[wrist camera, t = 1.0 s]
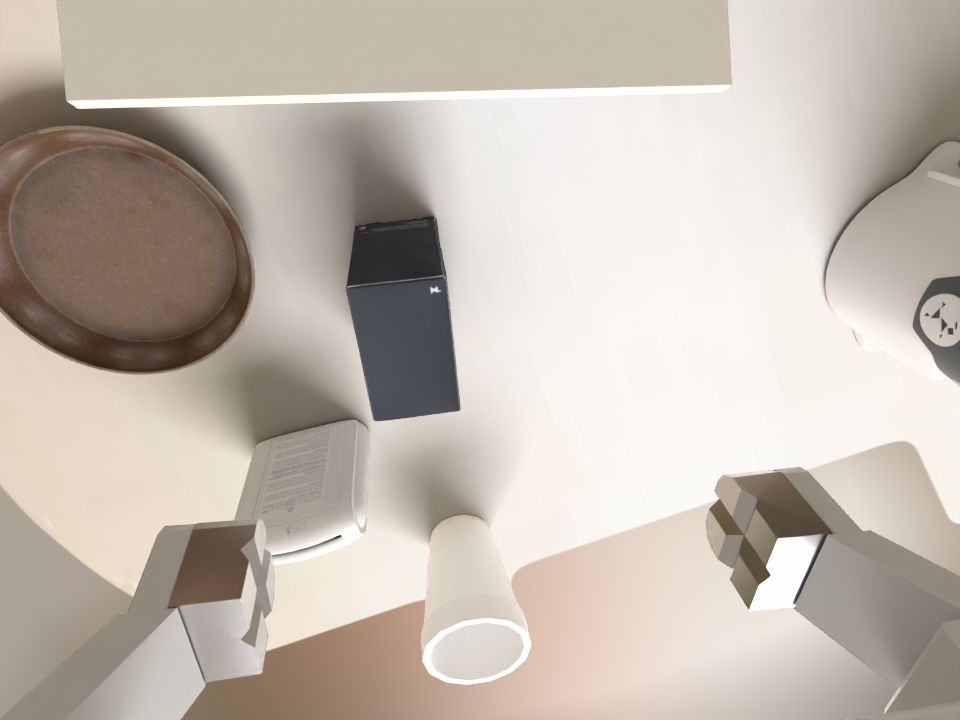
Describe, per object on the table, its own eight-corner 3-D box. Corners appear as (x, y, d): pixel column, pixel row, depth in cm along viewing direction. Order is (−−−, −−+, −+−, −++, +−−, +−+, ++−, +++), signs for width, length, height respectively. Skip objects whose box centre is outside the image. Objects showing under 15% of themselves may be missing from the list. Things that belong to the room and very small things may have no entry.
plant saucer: (90, 53, 37) (68, 58, 34) (311, 255, 45) (307, 272, 43) (-69, 239, 41) (-99, 257, 39) (161, 392, 50) (149, 414, 47)
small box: (348, 224, 44) (339, 284, 35) (436, 214, 45) (450, 271, 36) (372, 347, 50) (370, 426, 41) (450, 337, 50) (465, 412, 42)
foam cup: (403, 519, 61) (408, 637, 50) (492, 493, 61) (516, 605, 50) (431, 576, 66) (442, 694, 55) (513, 552, 66) (539, 666, 55)
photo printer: (267, 475, 55) (240, 589, 45) (247, 440, 53) (215, 551, 43) (376, 447, 55) (375, 554, 45) (361, 411, 53) (357, 515, 43)
